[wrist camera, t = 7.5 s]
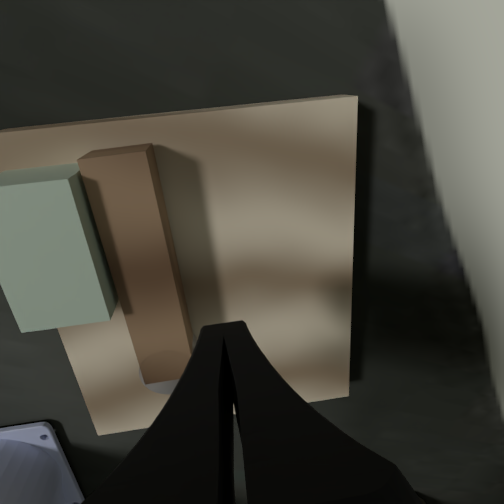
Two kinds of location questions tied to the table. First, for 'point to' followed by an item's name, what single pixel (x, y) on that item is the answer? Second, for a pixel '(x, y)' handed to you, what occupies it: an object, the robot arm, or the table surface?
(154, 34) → the table surface
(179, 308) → the stool leg
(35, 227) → the block
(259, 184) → the stool seat
